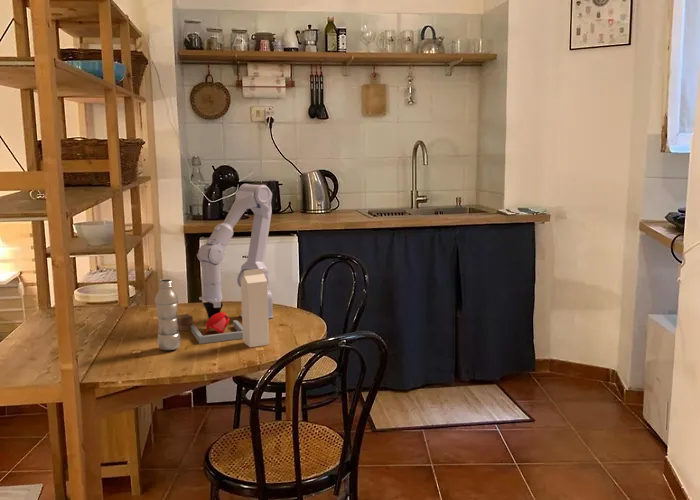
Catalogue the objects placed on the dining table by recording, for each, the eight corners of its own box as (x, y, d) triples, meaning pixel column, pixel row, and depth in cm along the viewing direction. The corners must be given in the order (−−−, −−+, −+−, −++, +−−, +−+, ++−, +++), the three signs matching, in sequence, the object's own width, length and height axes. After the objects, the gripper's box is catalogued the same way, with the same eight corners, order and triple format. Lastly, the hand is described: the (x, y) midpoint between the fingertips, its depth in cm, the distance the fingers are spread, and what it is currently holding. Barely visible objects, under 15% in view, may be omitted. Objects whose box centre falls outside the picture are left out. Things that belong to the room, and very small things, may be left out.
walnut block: (187, 326, 220) (187, 313, 219) (193, 328, 217) (192, 316, 216) (175, 328, 217) (175, 316, 217) (181, 331, 214) (180, 318, 214)
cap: (230, 317, 217) (213, 308, 215) (233, 315, 211) (215, 306, 210) (218, 340, 214) (201, 331, 213) (220, 339, 209) (202, 330, 207)
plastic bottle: (160, 354, 192) (156, 284, 188) (155, 347, 198) (151, 279, 194) (183, 350, 195) (180, 281, 191) (177, 344, 200) (174, 277, 197)
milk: (242, 342, 202) (239, 268, 198) (262, 339, 205) (259, 266, 201) (250, 347, 197) (246, 272, 193) (270, 344, 199) (267, 269, 196)
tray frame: (237, 326, 219) (236, 320, 218) (248, 337, 206) (247, 331, 206) (191, 331, 213) (191, 325, 213) (199, 344, 201) (199, 337, 200)
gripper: (194, 279, 219) (196, 320, 221) (203, 288, 206) (205, 332, 208) (216, 277, 222) (218, 318, 224) (226, 286, 208) (228, 329, 211)
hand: (213, 324), depth 216 cm, fingers closed
